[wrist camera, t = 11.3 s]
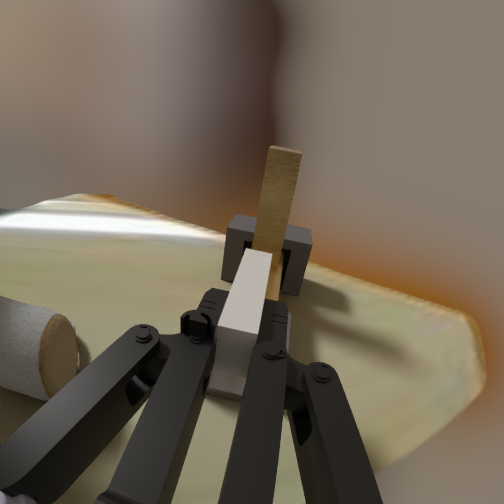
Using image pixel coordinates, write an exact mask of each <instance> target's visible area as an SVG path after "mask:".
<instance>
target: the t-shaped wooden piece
mask: <svg viewBox="0 0 504 504" xmlns="http://www.w3.org/2000/svg"><path fill="white" fill-rule="evenodd" d="M301 156H302V153H301V151H298V150H293V149H288V148H282V147H278V146H271V147H269V151H268V157H267V163H266V169H265V174H264V180H263V186H262V192H261V197H260V203H259V209H258V215H257V220H256V226H255V232H254V238H253V242H252V243H251V246H250V249H252V250H257V251H262V252H267V253H271V254H272V259H271V265H270V270H269V276H268V282H267V287H266V293H265V298H266V299H270V300H275V301H278V298H279V290H280V282H281V273H282V265H283V256H284V249H283V248H282V246H283V242H284V237H285V233H286V228H287V223H288V218H289V214H290V209H291V205H292V200H293V195H294V191H295V186H296V181H297V176H298V171H299V166H300V161H301Z"/></svg>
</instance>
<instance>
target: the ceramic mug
mask: <svg viewBox="0 0 504 504" xmlns="http://www.w3.org/2000/svg"><path fill="white" fill-rule="evenodd" d="M77 362H78V350H77V340H76V333H75V325H74V324H73V323H72V322H71V321H70V320H68V319H67V318H66V317H65V316H63V315H61V314H59V313H57V312H54V311H52V310H49V309H46V308H42V307H37V306H33V305H28V304H25V303H22V302H19V301H15V300H12V299H9V298H6V297H3V296H0V386H1V387H3V388H6V389H9V390H12V391H15V392H18V393H21V394H24V395H28V396H30V397H33V398H36V399H40V400H44V401H49V400H50V399H51V398H52V397H53V396H54V395H55V394H56V393H58V392H59V391H60V390H61V389H62V388H63V387H64V386H65V385H66V384H68V383H69V382H70V381H71V380H72V379H73V378H74V377H75V376H76V372H77Z"/></svg>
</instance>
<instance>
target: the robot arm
mask: <svg viewBox="0 0 504 504" xmlns="http://www.w3.org/2000/svg"><path fill="white" fill-rule="evenodd" d="M271 259H272V254H271V253H267V252H262V251H257V250H252V249H247V248H246V250H245V252H244V255H243V258H242V260H241V263H240V266H239V268H238V271H237V274H236V276H235V279H234V282H233V284H232V287H231V290H230V292H229V291H224V290H220V289H215V288H211V289H210V290H208V291H207V292H206V293H205V294H204V296H203V298H202V301H201V302H200V304H199V306H198V308H197V310H190V311H187V312H185V313H184V314H183V315H182V316H181V333H178V334H173V335H163V334H159V332H158V330H157V329H156V328H154V327H153V326H150V325H147V324H140V325H135V326H133V327H132V328H130V329H129V330H128V331H127V332H125V333H124V334H123V335H122V336H121V337H120V338H119V339H117V340H116V341H115V342H114V343H113V344H112V345H110V346H109V347H108V348H107V349H106V350H105V351H104V352H102V353H101V354H100V355H99V356H98V357H97V358H96V359H95V360H93V361H92V362H91V363H90V364H89V365H88V366H87V367H85V368H84V369H83V370H82V371H81V372H80V373H79V374H78V375H76V376H75V377H74V378H73V379H72V380H71V381H70V382H69V383H68V384H66V385H65V386H64V387H63V388H62V389H61V390H60V391H59V392H58V393H56V394H55V395H54V396H53V397H52V398H51V399H50V400H49V401H48V402H47V403H46V404H44V405H43V406H42V407H41V408H40V409H39V410H38V411H37V412H36V413H35V414H34V415H32V416H31V417H30V418H29V419H28V420H27V421H26V422H25V423H24V424H23V425H22V426H21V427H20V428H19V429H18V430H16V431H15V432H14V433H13V434H12V435H11V436H10V437H9V438H8V439H7V440H6V441H5V442H4V443H3V444H2V445H1V446H0V504H52V503H53V502H55V501H56V500H57V499H58V498H59V497H60V496H61V495H62V494H64V492H65V491H66V490H67V489H68V488H69V487H70V486H71V485H72V484H73V483H74V482H75V480H76V479H77V478H78V477H79V476H80V475H81V474H82V473H83V472H84V471H85V469H86V468H87V467H88V466H89V465H90V464H91V463H92V462H93V461H94V459H95V458H96V457H97V456H98V455H99V454H100V453H101V452H102V450H103V449H104V448H105V447H106V446H107V445H108V444H109V443H110V441H111V440H112V439H113V438H114V437H115V436H116V435H117V434H118V432H119V431H120V430H121V429H122V428H123V427H124V426H125V425H126V423H127V422H128V421H129V420H130V419H131V418H132V417H133V415H134V414H135V413H136V412H137V411H138V410H139V409H140V407H141V406H142V405H143V404H144V403H145V402H146V400H147V399H148V398H149V399H148V401H147V403H146V405H145V407H144V409H143V412H142V414H141V416H140V418H139V420H138V422H137V425H136V427H135V429H134V431H133V433H132V435H131V438H130V440H129V442H128V444H127V447H126V449H125V451H124V453H123V455H122V458H121V460H120V462H119V464H118V467H117V469H116V471H115V474H114V476H113V478H112V481H111V483H110V485H109V487H108V489H107V490H106V491H105V492H103V493H102V494H100V495H99V496H98V497H97V498H96V500H95V502H94V504H171V502H172V498H173V495H174V492H175V489H176V486H177V483H178V480H179V477H180V473H181V470H182V467H183V464H184V461H185V458H186V455H187V451H188V448H189V445H190V442H191V439H192V436H193V433H194V429H195V426H196V423H197V420H198V417H199V414H200V411H201V408H202V404H203V401H204V398H205V395H206V392H207V389H208V386H209V383H210V376H211V371H212V368H213V371H217V372H221V373H225V374H229V375H234V376H239V377H243V378H246V383H245V387H244V391H243V395H242V400H241V405H240V410H239V414H238V419H237V423H236V428H235V432H234V437H233V441H232V445H231V450H230V454H229V459H228V463H227V467H226V471H225V476H224V480H223V484H222V488H221V492H220V497H219V501H218V504H273V497H274V490H275V482H276V474H277V466H278V458H279V449H280V440H281V431H282V421H283V411H284V409H286V410H287V414H288V418H289V423H290V428H291V433H292V438H293V443H294V447H295V452H296V457H297V462H298V467H299V471H300V476H301V481H302V486H303V491H304V496H305V500H306V504H383V502H382V499H381V496H380V493H379V489H378V486H377V484H376V480H375V478H374V474H373V471H372V468H371V465H370V462H369V459H368V456H367V453H366V451H365V448H364V445H363V442H362V439H361V436H360V433H359V431H358V428H357V425H356V422H355V419H354V417H353V414H352V411H351V409H350V406H349V403H348V400H347V398H346V395H345V392H344V390H343V387H342V384H341V382H340V379H339V376H338V374H337V372H336V371H335V369H334V368H333V367H331V366H330V365H328V364H326V363H322V362H315V363H311V364H310V365H308V366H306V365H303V364H301V363H299V362H297V361H295V360H294V359H293V358H291V357H290V355H289V354H288V352H287V350H286V340H287V324H288V308H287V306H286V304H285V302H281V301H275V300H270V299H266V298H265V293H266V287H267V282H268V276H269V270H270V265H271Z"/></svg>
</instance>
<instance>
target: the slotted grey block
mask: <svg viewBox="0 0 504 504" xmlns="http://www.w3.org/2000/svg"><path fill="white" fill-rule="evenodd" d="M256 220H257V218H254V217H249V216H244V215H239V214H236V215H235V216H234V218H233V219H232V221H231V222H230V224H229V225H228V227H227V234H226V241H225V249H224V258H223V266H222V274H221V279H222V280H226V281H231V282H234V279H235V276H236V274H237V271H238V268H239V266H240V263H241V260H242V258H243V255H244V252H245V250H246V248H247V249H250V246H251V243H252V242H253V238H254V232H255V226H256ZM282 248H283V249H284V256H283V265H282V273H281V282H280V290H279V292H282V293H287V294H292V295H297V296H298V294H299V290H300V287H301V284H302V280H303V277H304V273H305V270H306V266H307V263H308V259H309V256H310V252H311V248H312V237H311V229H307V228H302V227H298V226H293V225H288V224H287V228H286V233H285V237H284V242H283V246H282Z"/></svg>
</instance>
